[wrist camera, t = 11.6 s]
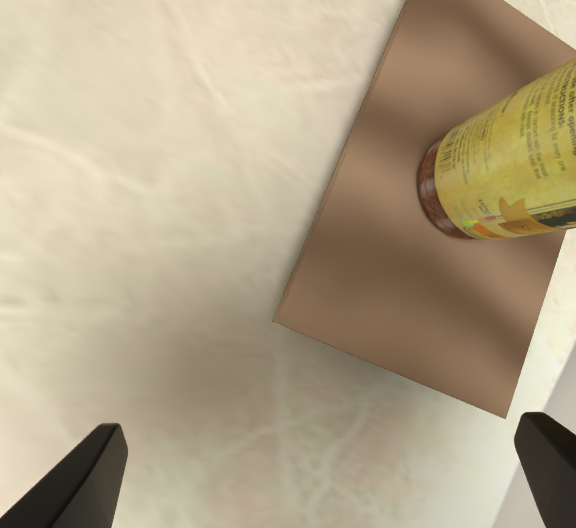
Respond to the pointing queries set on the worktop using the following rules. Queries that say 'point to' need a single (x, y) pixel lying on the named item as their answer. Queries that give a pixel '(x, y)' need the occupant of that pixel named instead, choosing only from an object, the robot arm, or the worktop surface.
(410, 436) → the worktop surface
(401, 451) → the worktop surface
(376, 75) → the shelf stand
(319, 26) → the worktop surface
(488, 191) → the sauce bottle
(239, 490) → the worktop surface
